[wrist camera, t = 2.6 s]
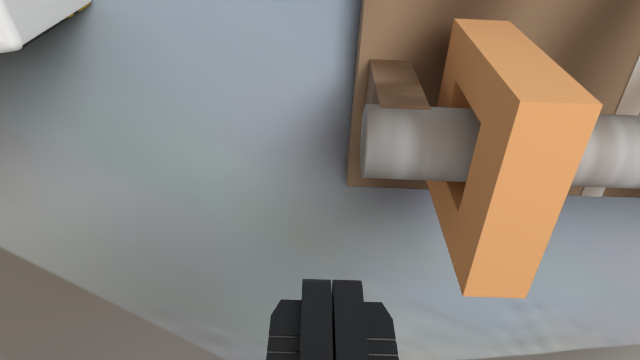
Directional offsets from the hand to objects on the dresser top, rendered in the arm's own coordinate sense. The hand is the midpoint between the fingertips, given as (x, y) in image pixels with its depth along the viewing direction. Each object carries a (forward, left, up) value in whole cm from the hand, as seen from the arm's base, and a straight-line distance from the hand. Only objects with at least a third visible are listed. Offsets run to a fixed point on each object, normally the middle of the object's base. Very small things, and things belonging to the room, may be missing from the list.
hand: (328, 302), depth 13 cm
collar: (-7, 0, -13) cm, 14 cm away
